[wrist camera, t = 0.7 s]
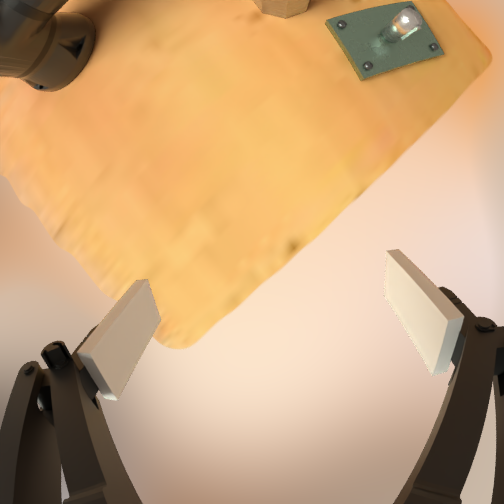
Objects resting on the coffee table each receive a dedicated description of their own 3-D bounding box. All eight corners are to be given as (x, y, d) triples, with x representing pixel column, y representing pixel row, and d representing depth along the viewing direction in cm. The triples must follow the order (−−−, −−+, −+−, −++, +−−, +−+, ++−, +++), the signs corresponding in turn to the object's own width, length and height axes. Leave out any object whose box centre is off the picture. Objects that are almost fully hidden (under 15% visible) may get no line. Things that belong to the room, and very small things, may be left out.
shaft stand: (325, 23, 29) (337, -4, 21) (407, 4, 26) (432, -18, 17) (360, 80, 32) (383, 65, 24) (439, 56, 28) (471, 43, 20)
